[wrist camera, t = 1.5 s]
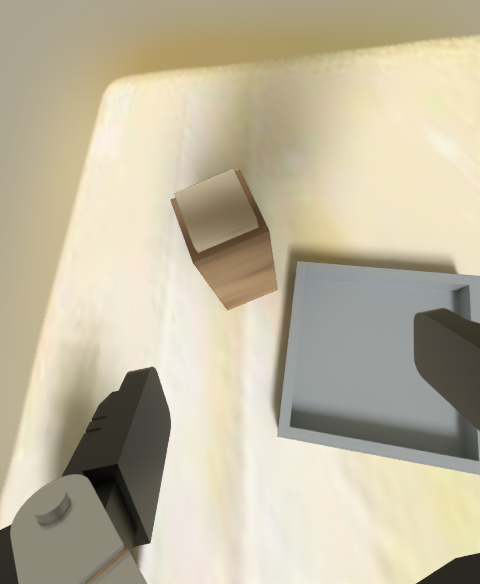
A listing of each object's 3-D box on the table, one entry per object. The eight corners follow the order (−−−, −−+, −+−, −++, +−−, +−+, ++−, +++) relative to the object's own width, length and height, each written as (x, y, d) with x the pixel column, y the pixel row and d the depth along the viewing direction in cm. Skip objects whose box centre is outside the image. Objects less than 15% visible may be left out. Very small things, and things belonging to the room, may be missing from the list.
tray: (296, 272, 30) (297, 261, 28) (464, 286, 27) (480, 275, 25) (278, 433, 26) (277, 436, 23) (473, 469, 23) (493, 477, 21)
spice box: (210, 265, 32) (164, 190, 20) (257, 245, 31) (237, 159, 20) (227, 310, 30) (188, 255, 19) (277, 289, 30) (268, 222, 18)
